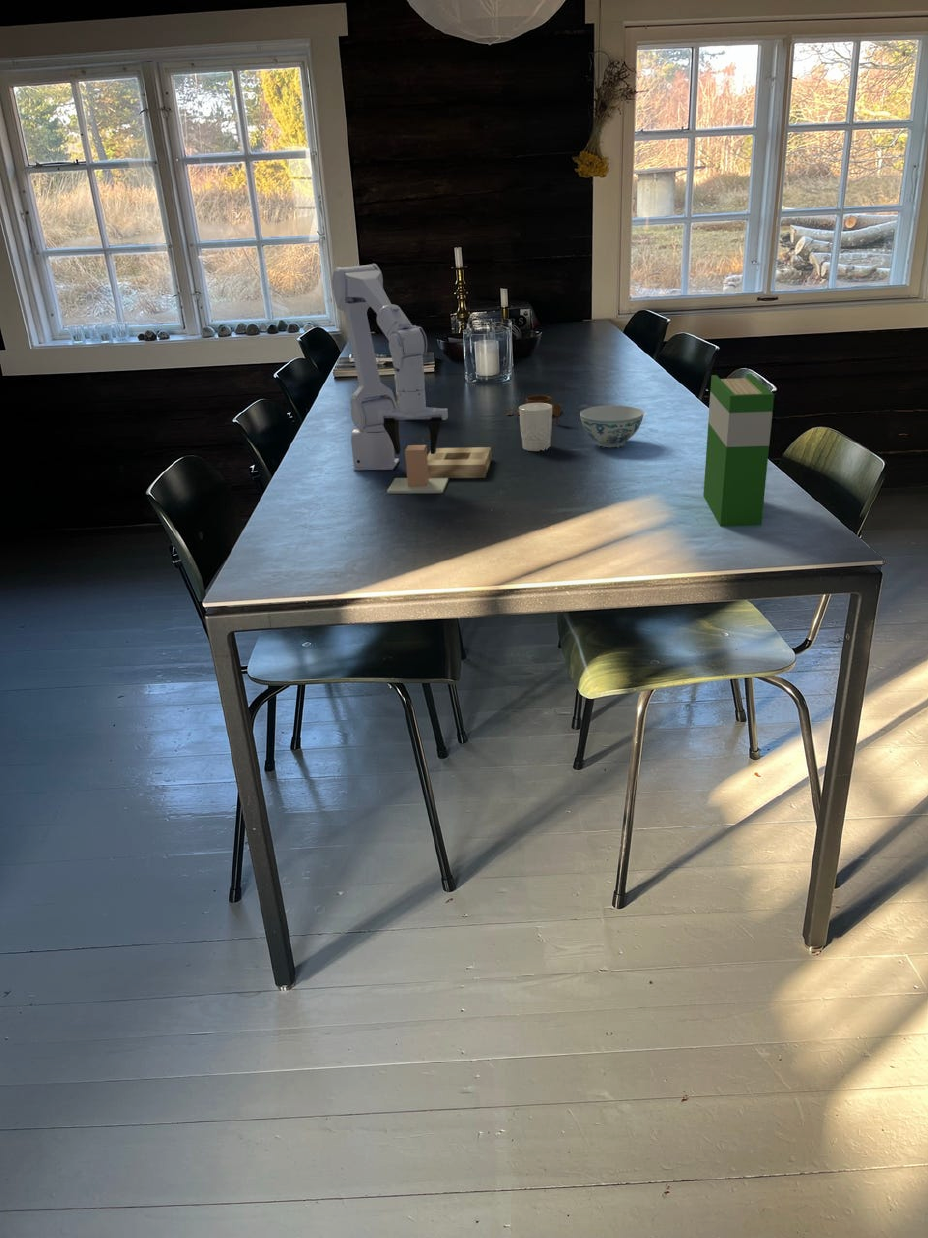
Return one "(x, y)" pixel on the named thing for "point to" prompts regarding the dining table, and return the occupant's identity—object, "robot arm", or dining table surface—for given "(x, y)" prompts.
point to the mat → (432, 487)
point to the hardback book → (737, 450)
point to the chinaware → (611, 424)
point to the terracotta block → (417, 465)
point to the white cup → (535, 426)
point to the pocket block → (459, 462)
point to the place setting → (543, 399)
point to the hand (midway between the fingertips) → (415, 452)
